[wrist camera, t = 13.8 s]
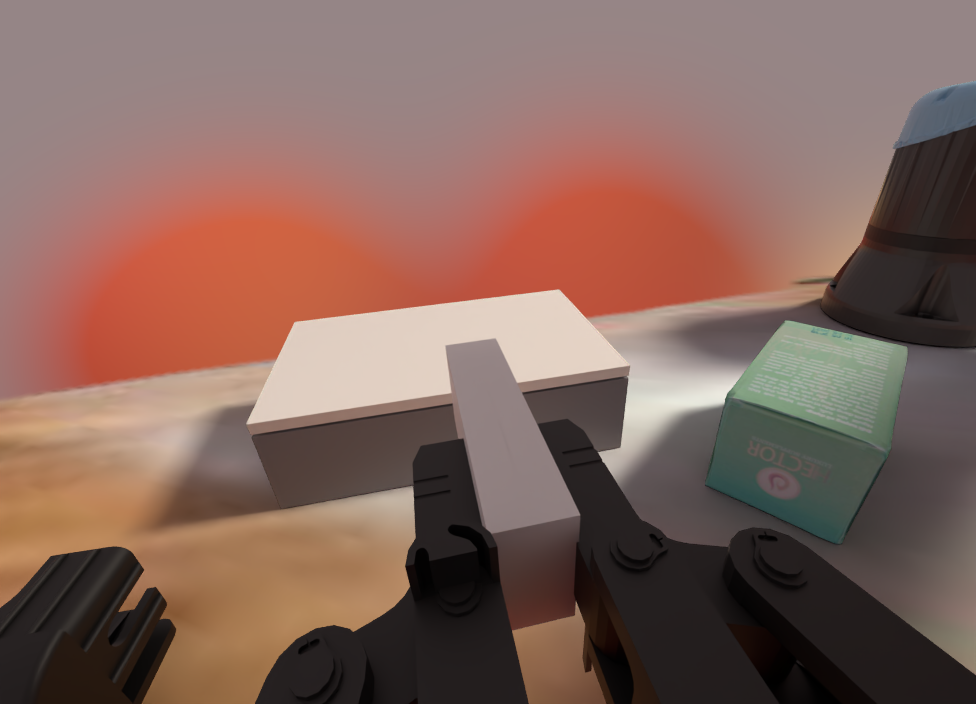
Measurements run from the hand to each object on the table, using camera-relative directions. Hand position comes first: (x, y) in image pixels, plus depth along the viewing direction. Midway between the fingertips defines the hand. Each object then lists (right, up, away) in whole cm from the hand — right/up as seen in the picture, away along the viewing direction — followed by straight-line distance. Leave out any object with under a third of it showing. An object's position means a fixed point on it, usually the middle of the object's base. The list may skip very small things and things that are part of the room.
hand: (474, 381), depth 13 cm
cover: (-3, +1, +20) cm, 20 cm away
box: (+21, -7, +17) cm, 28 cm away
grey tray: (-3, -5, +23) cm, 23 cm away
